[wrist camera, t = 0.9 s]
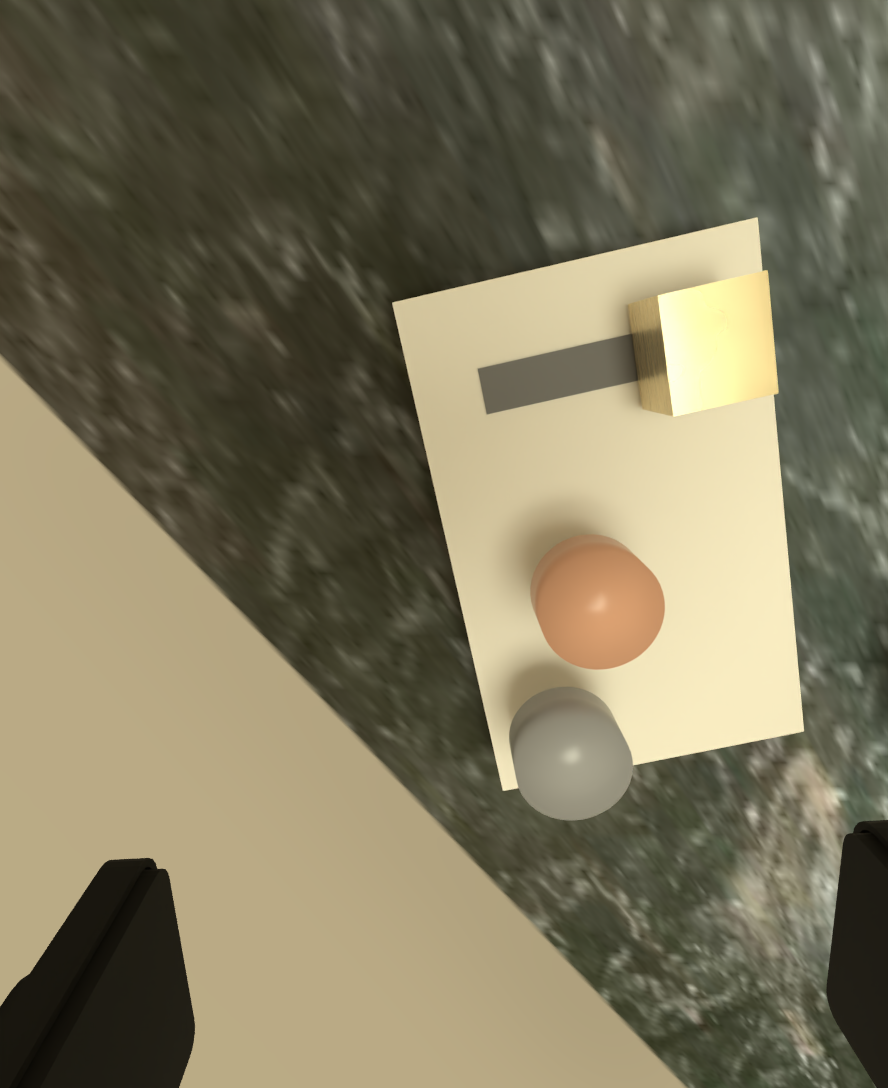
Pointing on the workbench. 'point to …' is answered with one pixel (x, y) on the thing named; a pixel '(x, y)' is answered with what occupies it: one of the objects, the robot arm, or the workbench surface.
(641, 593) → the terracotta button
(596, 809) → the grey button
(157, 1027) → the robot arm
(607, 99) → the workbench surface
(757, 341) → the brass slider
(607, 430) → the control panel
